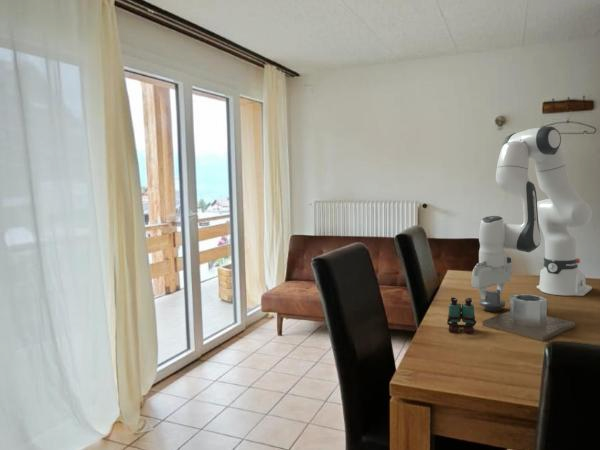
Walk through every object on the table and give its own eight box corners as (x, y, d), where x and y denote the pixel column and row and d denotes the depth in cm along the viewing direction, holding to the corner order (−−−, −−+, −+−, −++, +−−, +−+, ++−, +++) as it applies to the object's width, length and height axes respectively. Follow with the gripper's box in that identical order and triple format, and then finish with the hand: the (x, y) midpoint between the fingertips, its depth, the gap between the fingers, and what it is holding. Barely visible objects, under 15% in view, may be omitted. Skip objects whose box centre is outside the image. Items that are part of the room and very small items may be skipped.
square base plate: (515, 313, 162) (515, 287, 161) (574, 326, 145) (575, 298, 144) (482, 325, 151) (482, 297, 150) (542, 341, 134) (542, 310, 133)
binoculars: (446, 306, 141) (447, 295, 151) (447, 337, 143) (447, 324, 153) (477, 307, 138) (475, 296, 148) (477, 339, 140) (475, 325, 150)
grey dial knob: (488, 304, 174) (488, 287, 173) (510, 309, 166) (510, 291, 165) (474, 309, 169) (474, 291, 168) (496, 314, 161) (496, 295, 160)
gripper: (482, 265, 157) (482, 303, 159) (515, 257, 169) (514, 293, 170) (466, 262, 162) (467, 299, 164) (499, 255, 174) (499, 290, 175)
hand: (491, 296), depth 167 cm, fingers open, 8 cm apart
